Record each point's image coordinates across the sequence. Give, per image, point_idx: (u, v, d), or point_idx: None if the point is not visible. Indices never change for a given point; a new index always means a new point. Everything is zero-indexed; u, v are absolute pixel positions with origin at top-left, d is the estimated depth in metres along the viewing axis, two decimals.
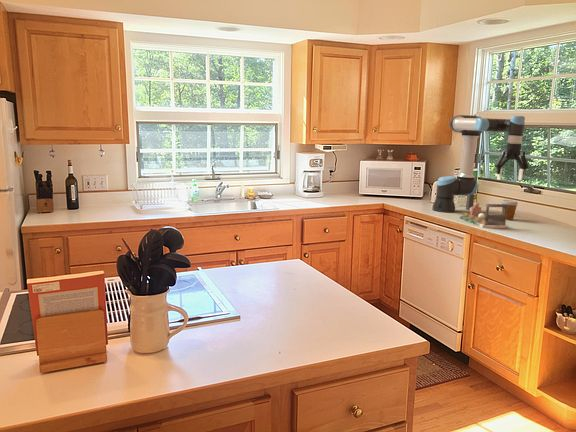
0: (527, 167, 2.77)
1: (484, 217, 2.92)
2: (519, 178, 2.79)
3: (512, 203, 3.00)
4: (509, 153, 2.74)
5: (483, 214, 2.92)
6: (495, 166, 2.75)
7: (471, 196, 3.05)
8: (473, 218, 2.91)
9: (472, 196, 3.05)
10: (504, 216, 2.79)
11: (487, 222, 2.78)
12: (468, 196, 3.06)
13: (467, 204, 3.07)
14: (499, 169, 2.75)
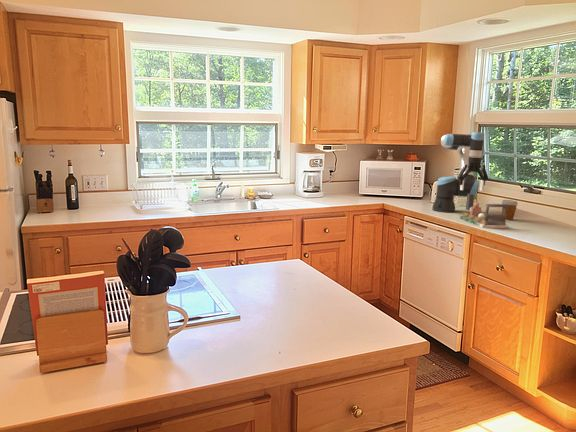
0: (487, 179, 3.04)
1: (484, 217, 2.92)
2: (480, 188, 3.06)
3: (512, 203, 3.00)
4: (470, 166, 3.00)
5: (483, 214, 2.92)
6: (458, 178, 3.02)
7: (471, 196, 3.05)
8: (473, 218, 2.91)
9: (472, 196, 3.05)
10: (504, 216, 2.79)
11: (487, 222, 2.78)
12: (468, 196, 3.06)
13: (467, 204, 3.07)
14: (461, 180, 3.02)
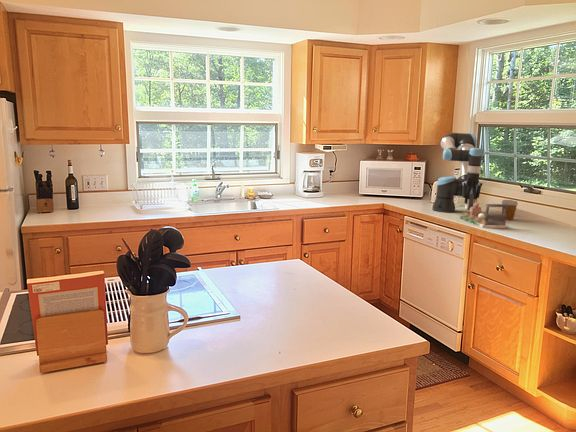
0: (478, 197, 3.06)
1: (484, 217, 2.92)
2: None
3: (512, 203, 3.00)
4: (469, 181, 3.03)
5: (483, 214, 2.92)
6: (463, 197, 3.05)
7: (471, 196, 3.05)
8: (473, 218, 2.91)
9: (472, 196, 3.05)
10: (504, 216, 2.79)
11: (487, 222, 2.78)
12: None
13: None
14: (466, 199, 3.05)
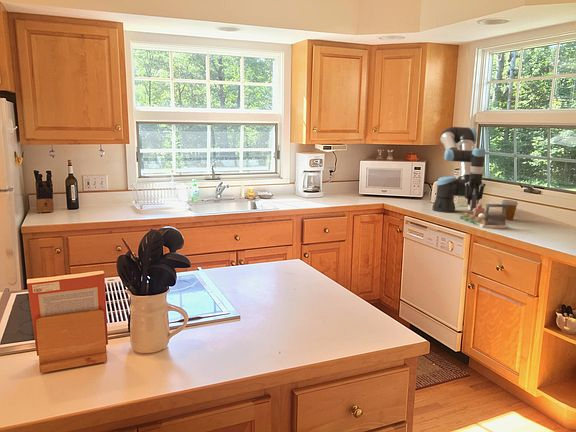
0: (480, 198, 3.02)
1: (484, 217, 2.92)
2: None
3: (512, 203, 3.00)
4: (471, 182, 2.99)
5: (483, 214, 2.92)
6: (466, 197, 3.02)
7: (474, 197, 3.01)
8: (473, 218, 2.91)
9: (475, 197, 3.01)
10: (504, 216, 2.79)
11: (487, 222, 2.78)
12: None
13: None
14: (469, 200, 3.02)
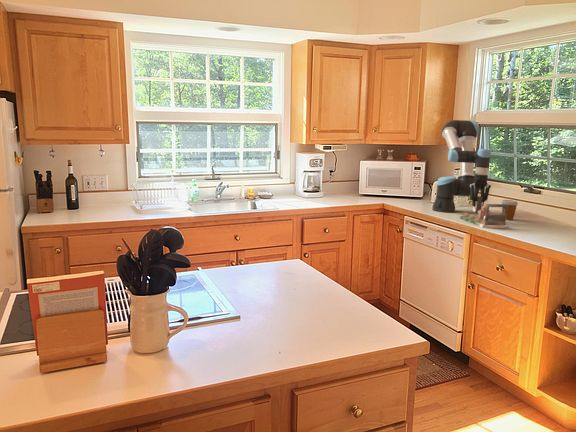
0: (486, 199, 2.96)
1: None
2: None
3: (512, 203, 3.00)
4: (477, 183, 2.93)
5: None
6: (471, 199, 2.96)
7: (479, 199, 2.95)
8: (473, 218, 2.91)
9: (480, 199, 2.95)
10: (504, 216, 2.79)
11: (487, 222, 2.78)
12: None
13: None
14: (474, 202, 2.96)
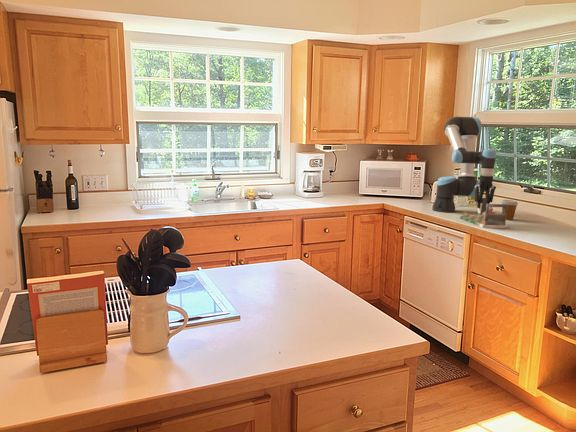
0: (491, 201, 2.91)
1: None
2: None
3: (512, 203, 3.00)
4: (482, 185, 2.88)
5: None
6: None
7: (484, 200, 2.90)
8: (473, 218, 2.91)
9: (485, 200, 2.90)
10: (504, 216, 2.79)
11: (487, 222, 2.78)
12: None
13: None
14: (479, 203, 2.91)
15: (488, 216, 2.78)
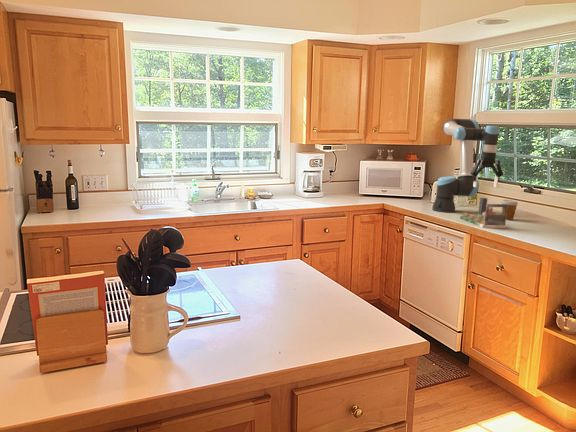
0: (502, 175, 2.89)
1: None
2: (494, 185, 2.91)
3: (512, 203, 3.00)
4: (484, 161, 2.85)
5: None
6: (471, 174, 2.87)
7: (484, 200, 2.90)
8: (473, 218, 2.91)
9: (485, 200, 2.90)
10: (504, 216, 2.79)
11: (487, 222, 2.78)
12: (481, 200, 2.91)
13: (479, 208, 2.93)
14: (475, 177, 2.87)
15: (488, 216, 2.78)
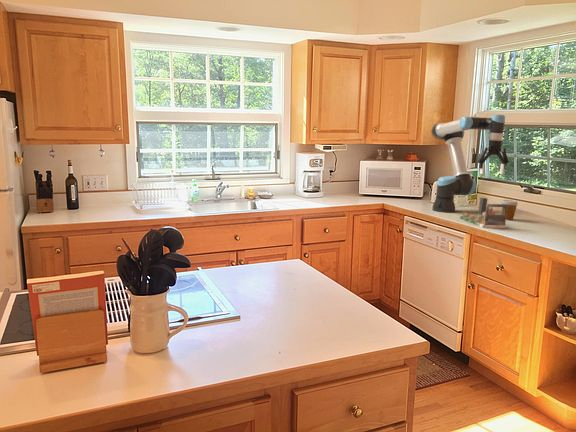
0: (507, 162, 2.99)
1: None
2: (500, 172, 3.02)
3: (512, 203, 3.00)
4: (491, 149, 2.96)
5: None
6: (478, 161, 2.97)
7: (484, 200, 2.90)
8: (473, 218, 2.91)
9: (485, 200, 2.90)
10: (504, 216, 2.79)
11: (487, 222, 2.78)
12: (481, 200, 2.91)
13: (479, 208, 2.93)
14: (481, 164, 2.98)
15: (488, 216, 2.78)
